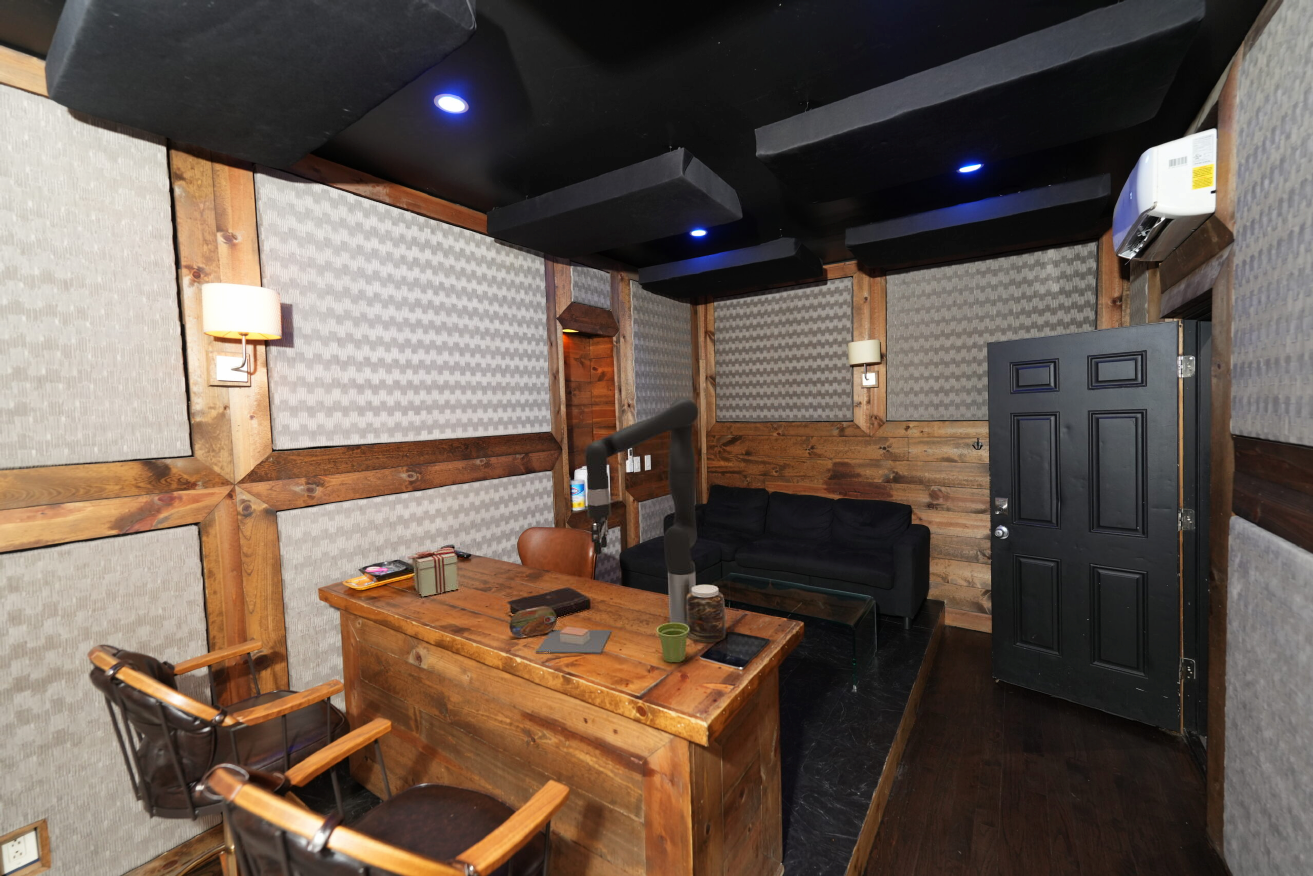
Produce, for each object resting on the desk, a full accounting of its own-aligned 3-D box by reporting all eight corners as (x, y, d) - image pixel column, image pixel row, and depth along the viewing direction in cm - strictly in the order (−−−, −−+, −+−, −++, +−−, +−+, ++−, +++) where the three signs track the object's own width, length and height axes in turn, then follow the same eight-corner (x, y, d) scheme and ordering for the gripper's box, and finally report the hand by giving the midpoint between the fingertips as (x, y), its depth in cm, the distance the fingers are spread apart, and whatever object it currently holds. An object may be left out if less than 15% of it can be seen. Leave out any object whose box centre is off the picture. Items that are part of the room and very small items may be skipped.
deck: (568, 635, 170) (567, 626, 170) (589, 639, 167) (589, 629, 167) (560, 641, 166) (559, 632, 166) (582, 644, 163) (582, 635, 162)
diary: (591, 611, 195) (591, 597, 194) (528, 630, 179) (527, 615, 179) (566, 597, 209) (566, 585, 209) (506, 614, 194) (505, 601, 193)
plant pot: (651, 659, 153) (649, 629, 152) (673, 648, 159) (672, 619, 159) (674, 669, 146) (673, 638, 146) (697, 657, 153) (696, 628, 152)
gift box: (446, 580, 237) (444, 542, 236) (461, 589, 223) (459, 549, 222) (406, 589, 226) (403, 549, 225) (419, 600, 212) (416, 557, 211)
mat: (611, 631, 173) (611, 630, 173) (600, 654, 157) (600, 652, 157) (552, 631, 175) (552, 629, 175) (535, 653, 159) (535, 651, 159)
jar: (714, 625, 175) (713, 580, 174) (732, 638, 164) (730, 591, 163) (682, 632, 171) (680, 586, 170) (697, 646, 160) (695, 597, 159)
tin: (510, 640, 169) (508, 614, 169) (510, 637, 172) (508, 611, 172) (558, 631, 173) (555, 606, 173) (557, 627, 176) (554, 603, 176)
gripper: (592, 498, 182) (594, 545, 183) (582, 506, 168) (584, 556, 168) (614, 498, 181) (616, 545, 182) (605, 505, 167) (607, 556, 168)
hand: (600, 550), depth 175 cm, fingers open, 8 cm apart
